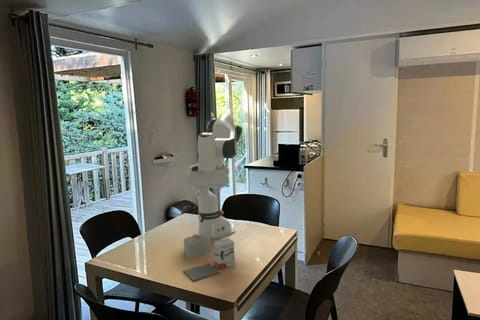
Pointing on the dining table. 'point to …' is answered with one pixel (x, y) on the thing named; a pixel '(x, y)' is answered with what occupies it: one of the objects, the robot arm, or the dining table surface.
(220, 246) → the ink box
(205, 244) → the grey chunky block
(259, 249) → the dining table surface
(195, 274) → the mat
